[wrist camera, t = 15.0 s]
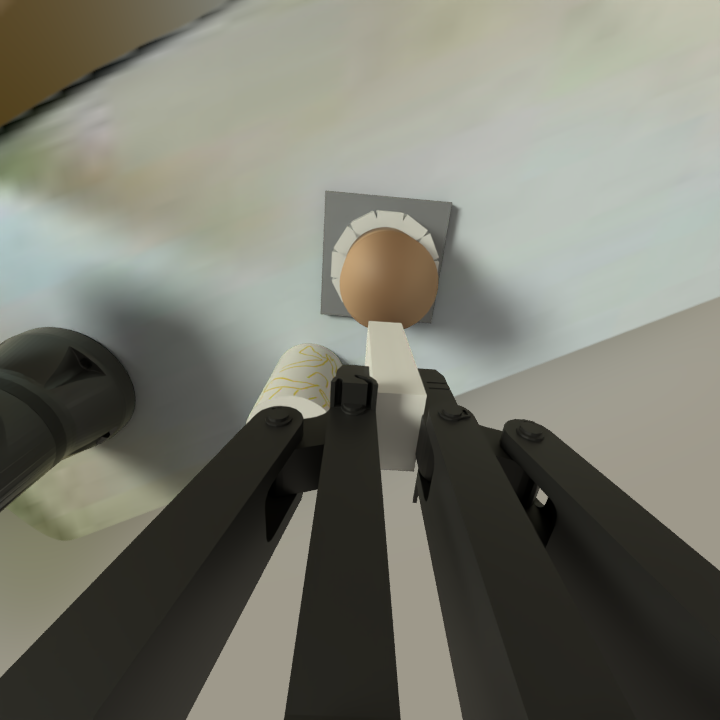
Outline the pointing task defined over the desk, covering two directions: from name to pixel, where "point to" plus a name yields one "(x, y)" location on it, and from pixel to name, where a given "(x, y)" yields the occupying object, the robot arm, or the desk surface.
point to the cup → (301, 381)
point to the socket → (368, 212)
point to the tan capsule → (388, 278)
